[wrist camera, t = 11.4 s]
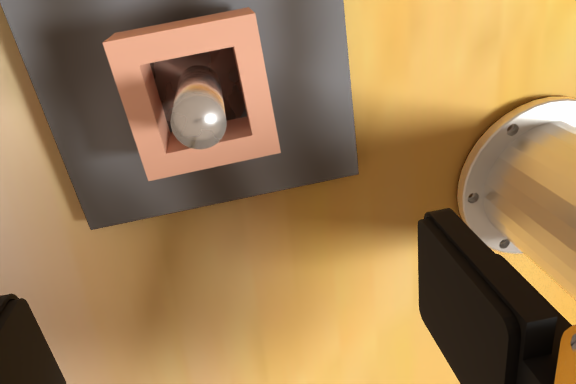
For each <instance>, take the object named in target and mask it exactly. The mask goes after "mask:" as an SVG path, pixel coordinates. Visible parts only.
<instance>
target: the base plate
mask: <svg viewBox="0 0 576 384" xmlns="http://www.w3.org/2000/svg"><path fill="white" fill-rule="evenodd" d="M0 4H1V6H2V9H3V11H4V14H5V16H6V19H7V21H8V24H9V26H10V29H11V31H12V34H13V36H14V39H15V41H16V44H17V46H18V49H19V51H20V54H21V56H22V59H23V61H24V64H25V66H26V69H27V71H28V74H29V76H30V79H31V81H32V84H33V86H34V89H35V91H36V94H37V96H38V99H39V101H40V104H41V106H42V109H43V111H44V114H45V116H46V119H47V122H48V124H49V127H50V129H51V132H52V134H53V137H54V139H55V142H56V144H57V147H58V149H59V152H60V154H61V157H62V159H63V162H64V164H65V167H66V169H67V172H68V174H69V177H70V179H71V182H72V184H73V187H74V189H75V192H76V194H77V197H78V199H79V202H80V204H81V207H82V209H83V212H84V214H85V217H86V219H87V222H88V224H89V227H90V229H91V230H93V229H98V228H103V227H108V226H112V225H117V224H122V223H127V222H132V221H136V220H141V219H146V218H151V217H155V216H160V215H165V214H170V213H175V212H179V211H184V210H189V209H194V208H199V207H203V206H208V205H213V204H218V203H223V202H227V201H232V200H237V199H242V198H247V197H251V196H256V195H261V194H266V193H271V192H275V191H280V190H285V189H290V188H294V187H299V186H304V185H309V184H314V183H318V182H323V181H328V180H333V179H338V178H342V177H347V176H352V175H357V174H359V171H358V160H357V148H356V137H355V126H354V115H353V103H352V92H351V81H350V70H349V59H348V47H347V36H346V25H345V14H344V3H343V0H0ZM247 7H249V8H250V9H251V10H252V11H253V12H255V14H256V20H257V25H258V31H259V36H260V42H261V47H262V52H263V58H264V63H265V69H266V74H267V80H268V85H269V91H270V96H271V102H272V107H273V112H274V118H275V123H276V129H277V134H278V140H279V145H280V151H281V153H278V154H273V155H268V156H264V157H259V158H254V159H250V160H245V161H240V162H236V163H231V164H227V165H222V166H217V167H213V168H208V169H203V170H199V171H194V172H189V173H185V174H180V175H175V176H171V177H166V178H162V179H157V180H152V181H148V179H147V176H146V173H145V170H144V167H143V164H142V161H141V158H140V154H139V151H138V148H137V145H136V142H135V139H134V136H133V133H132V130H131V127H130V124H129V121H128V118H127V115H126V112H125V109H124V106H123V103H122V100H121V97H120V94H119V91H118V88H117V85H116V82H115V79H114V76H113V73H112V70H111V67H110V64H109V61H108V58H107V55H106V52H105V49H104V46H103V42H104V41H105V40H106V39H108V38H109V37H110V36H111V35H113V34H114V33H117V32H122V31H127V30H132V29H138V28H143V27H148V26H153V25H158V24H164V23H169V22H174V21H179V20H185V19H190V18H195V17H200V16H205V15H211V14H216V13H221V12H226V11H232V10H237V9H242V8H247ZM246 116H247V114H246V109H245V110H244V112H243V113H242V115H241V116H240V117H239V118H242V117H246ZM168 127H169V131H170V132H172V129H171V126H170V125H169V124H168Z"/></svg>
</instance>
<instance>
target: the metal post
mask: <svg viewBox="0 0 576 384" xmlns="http://www.w3.org/2000/svg"><path fill="white" fill-rule="evenodd" d="M150 66H151V69H152V73H153V76H154V79H155V83H156V86H157V90H158V93H159V96H160V100H161V103H162V107H163V110H164V113H165V117H166V120H167V124H169V125H170V126H171V129H172V132H173V134H174V136H175V137H176V139H177V140H178V141H179V142H180V143H182V144H183V145H185V146H187V147H189V148H193V149H206V148H210V147H212V146H214V145H215V144H217V143H218V142H219V141H220V140H221V139H222V137H223V136H224V134H225V131H226V126H227V120H232V119H237V118H239V117H240V116H241V115H242V113H243V112H244V110H245V104H244V99H243V95H242V90H241V85H240V80H239V76H238V71H237V66H236V61H235V57H234V52H233V47H229V48H224V49H219V50H214V51H209V52H204V53H199V54H194V55H189V56H184V57H178V58H173V59H168V60H163V61H158V62H153V63H150Z"/></svg>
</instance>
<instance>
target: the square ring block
mask: <svg viewBox="0 0 576 384" xmlns="http://www.w3.org/2000/svg"><path fill="white" fill-rule="evenodd" d="M103 46H104V49H105V52H106V55H107V58H108V61H109V64H110V67H111V70H112V73H113V76H114V79H115V82H116V85H117V88H118V91H119V94H120V97H121V100H122V103H123V106H124V109H125V112H126V115H127V118H128V121H129V124H130V127H131V130H132V133H133V136H134V139H135V142H136V145H137V148H138V151H139V154H140V158H141V161H142V164H143V167H144V170H145V173H146V176H147V179H148V181H152V180H157V179H162V178H166V177H171V176H175V175H180V174H185V173H189V172H194V171H199V170H203V169H208V168H213V167H217V166H222V165H227V164H231V163H236V162H240V161H245V160H250V159H254V158H259V157H264V156H268V155H273V154H278V153H281V151H280V145H279V140H278V134H277V129H276V123H275V118H274V112H273V107H272V102H271V96H270V91H269V85H268V80H267V74H266V69H265V63H264V58H263V52H262V47H261V42H260V36H259V31H258V25H257V20H256V14H255V12H253V11H252V10H251V9H250V8H249V7H247V8H242V9H237V10H232V11H226V12H221V13H216V14H211V15H205V16H200V17H195V18H190V19H185V20H179V21H174V22H169V23H164V24H158V25H153V26H148V27H143V28H138V29H132V30H127V31H122V32H117V33H114V34H113V35H111V36H110V37H109V38H108V39H106V40H105V41H104V42H103ZM229 47H233V52H234V57H235V61H236V66H237V71H238V76H239V80H240V85H241V90H242V95H243V99H244V104H245V109H246V114H247V116H246V117H242V118H237V119H232V120H227V126H226V131H225V134H224V136H223V137H222V139H221V140H220V141H219V142H218V143H217V144H215V145H214V146H212V147H210V148H206V149H193V148H189V147H187V146H185V145H183V144H182V143H180V142H179V141H178V140H177V139H176V137H175V136H174V134H173V132H170V131H169V127H168V124H167V120H166V117H165V113H164V110H163V107H162V103H161V100H160V96H159V93H158V90H157V86H156V83H155V79H154V76H153V73H152V69H151V66H150V63H153V62H158V61H163V60H168V59H173V58H178V57H184V56H189V55H194V54H199V53H204V52H209V51H214V50H219V49H224V48H229Z"/></svg>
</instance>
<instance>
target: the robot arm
mask: <svg viewBox="0 0 576 384" xmlns="http://www.w3.org/2000/svg"><path fill="white" fill-rule="evenodd" d="M457 200H458V207H459V213H460V215H461V218H462V220H463V221H462V220H461V219H460V218H459V217H458V216H457V215H456V213H455V212H454V211H453V210H451V209H450V208H447V209H442V210H437V211H432V212H427V213H426V214H425V216H424V219H422V220H419V221H418V273H419V310H420V314H421V317H422V320H423V321H424V323H425V325H426V327H427V328H428V330H429V332H430V333H431V335H432V337H433V338H434V340H435V342H436V343H437V345H438V347H439V348H440V350H441V352H442V353H443V355H444V357H445V358H446V360H447V362H448V363H449V365H450V367H451V368H452V370H453V372H454V373H455V375H456V377H457V378H458V380H459V382H460V383H461V384H576V325H573V326H572V325H571V324H570V323H569V322H568V321H567V320H566V319H565V318H564V317H563V316H562V315H561V314H560V313H559V312H558V311H557V310H556V309H555V308H554V307H553V306H552V305H551V304H550V303H549V302H548V301H547V300H546V299H545V298H544V297H543V296H542V295H541V294H540V293H539V292H538V291H537V290H536V289H535V288H534V287H533V286H532V285H531V284H530V283H529V282H528V281H527V280H526V279H525V278H524V277H523V276H522V275H521V274H520V273H519V272H518V271H517V270H516V269H515V268H514V267H513V266H512V265H511V264H510V263H509V262H508V261H507V260H506V259H505V258H503V257H502V256H501V255H499V254H495V253H494V252H493V251H492V250H491V249H493V250H496V251H499V252H504V253H512V254H520V253H524V254H525V255H526V256H527V257H528V258H529V259H530V260H531V261H533V262H534V263H535V264H536V265H537V266H538V267H539V268H540V269H541V270H543V271H544V272H545V273H546V274H547V275H548V276H549V277H550V278H551V279H553V280H554V281H555V282H556V283H557V284H558V285H559V286H560V287H561V288H563V289H564V290H565V291H566V292H567V293H568V294H569V295H570V296H571V297H573V298H574V299H575V300H576V99H575V98H571V97H547V98H542V99H537V100H534V101H531V102H529V103H526V104H523V105H521V106H519V107H517V108H515V109H514V110H512V111H510V112H509V113H507V114H505V115H504V116H503V117H501V118H500V119H499V120H498V121H497V122H495V123H494V124H493V125H492V126H490V128H489V129H488V130H487V131H486V132H485V133H484V134H483V135H482V136H481V138H480V139H479V140H478V141H477V143H476V144H475V146H474V147H473V149H472V150H471V152H470V153H469V155H468V157H467V159H466V162H465V164H464V166H463V168H462V171H461V175H460V179H459V183H458V194H457ZM490 248H491V249H490ZM0 384H66V381H65V379H64V377H63V375H62V373H61V371H60V369H59V366H58V364H57V362H56V360H55V358H54V356H53V354H52V352H51V350H50V348H49V346H48V344H47V342H46V340H45V338H44V336H43V334H42V332H41V329H40V327H39V325H38V323H37V321H36V319H35V317H34V315H33V313H32V311H31V309H30V307H29V305H28V303H27V301H26V300H25V299H23V298H20V299H19V298H18V297H17V296H16V295H15V294H8V295H3V296H0Z"/></svg>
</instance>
